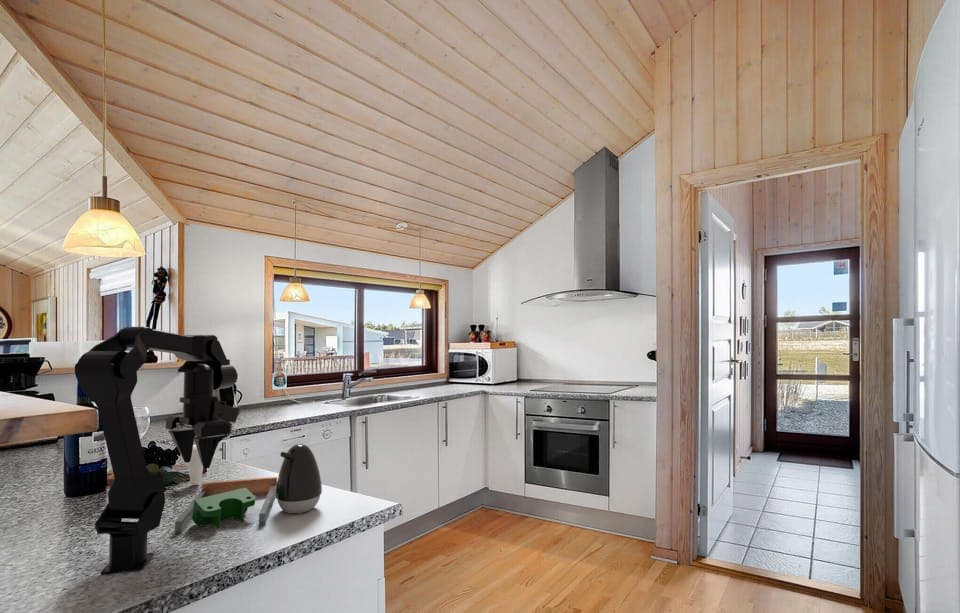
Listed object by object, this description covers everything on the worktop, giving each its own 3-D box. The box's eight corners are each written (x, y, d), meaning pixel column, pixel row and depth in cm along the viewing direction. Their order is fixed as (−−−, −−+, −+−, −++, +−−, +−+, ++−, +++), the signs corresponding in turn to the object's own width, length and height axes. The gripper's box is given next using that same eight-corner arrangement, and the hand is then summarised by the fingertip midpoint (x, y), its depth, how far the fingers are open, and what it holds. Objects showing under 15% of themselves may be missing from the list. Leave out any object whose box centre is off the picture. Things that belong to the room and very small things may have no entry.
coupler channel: (264, 525, 114) (265, 506, 114) (174, 534, 110) (175, 514, 110) (277, 492, 137) (277, 476, 138) (203, 498, 133) (203, 482, 133)
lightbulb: (183, 483, 146) (184, 443, 146) (208, 480, 148) (209, 441, 149) (181, 489, 140) (182, 447, 141) (207, 486, 143) (208, 445, 143)
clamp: (210, 549, 113) (196, 517, 109) (199, 535, 116) (185, 504, 113) (263, 514, 120) (252, 483, 117) (251, 502, 124) (240, 472, 120)
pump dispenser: (265, 513, 121) (265, 446, 122) (299, 500, 131) (300, 438, 131) (297, 520, 117) (297, 451, 117) (331, 506, 126) (331, 442, 126)
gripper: (256, 391, 116) (254, 464, 115) (216, 387, 127) (214, 453, 126) (203, 396, 107) (201, 474, 106) (165, 391, 119) (163, 461, 118)
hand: (196, 465), depth 114 cm, fingers open, 9 cm apart
